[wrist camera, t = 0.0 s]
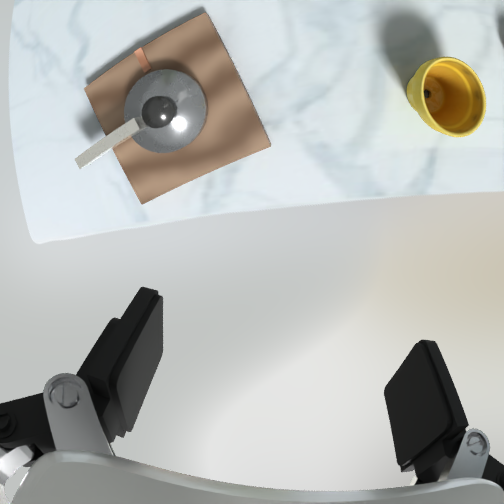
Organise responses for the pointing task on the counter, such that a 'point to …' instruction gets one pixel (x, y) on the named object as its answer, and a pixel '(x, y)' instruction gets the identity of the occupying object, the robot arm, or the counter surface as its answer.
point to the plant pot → (448, 96)
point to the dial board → (219, 109)
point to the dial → (157, 115)
